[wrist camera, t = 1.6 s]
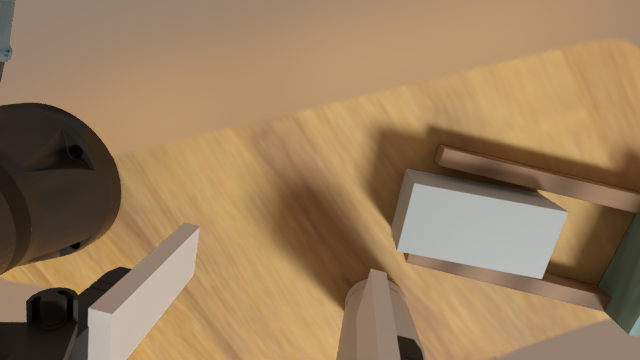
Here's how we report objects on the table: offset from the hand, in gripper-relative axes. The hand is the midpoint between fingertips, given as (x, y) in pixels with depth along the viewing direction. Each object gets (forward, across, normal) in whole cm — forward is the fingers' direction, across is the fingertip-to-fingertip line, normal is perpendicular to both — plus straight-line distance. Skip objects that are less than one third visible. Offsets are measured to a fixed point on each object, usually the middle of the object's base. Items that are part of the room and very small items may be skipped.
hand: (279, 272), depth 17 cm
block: (+18, +14, 0) cm, 22 cm away
